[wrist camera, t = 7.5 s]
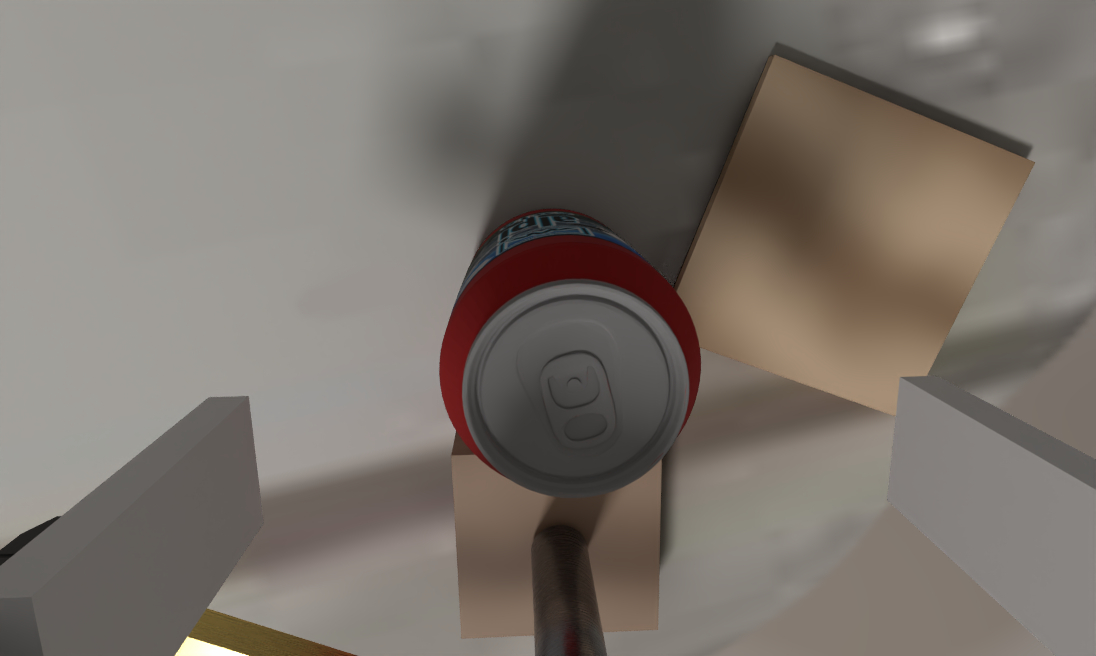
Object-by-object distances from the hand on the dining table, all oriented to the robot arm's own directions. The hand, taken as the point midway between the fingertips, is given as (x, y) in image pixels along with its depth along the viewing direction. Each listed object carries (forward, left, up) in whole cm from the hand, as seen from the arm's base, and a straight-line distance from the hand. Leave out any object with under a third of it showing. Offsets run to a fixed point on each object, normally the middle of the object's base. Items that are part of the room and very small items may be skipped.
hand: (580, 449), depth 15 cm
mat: (-6, +10, -14) cm, 18 cm away
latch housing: (+9, +3, -14) cm, 17 cm away
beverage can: (0, 0, -15) cm, 15 cm away
